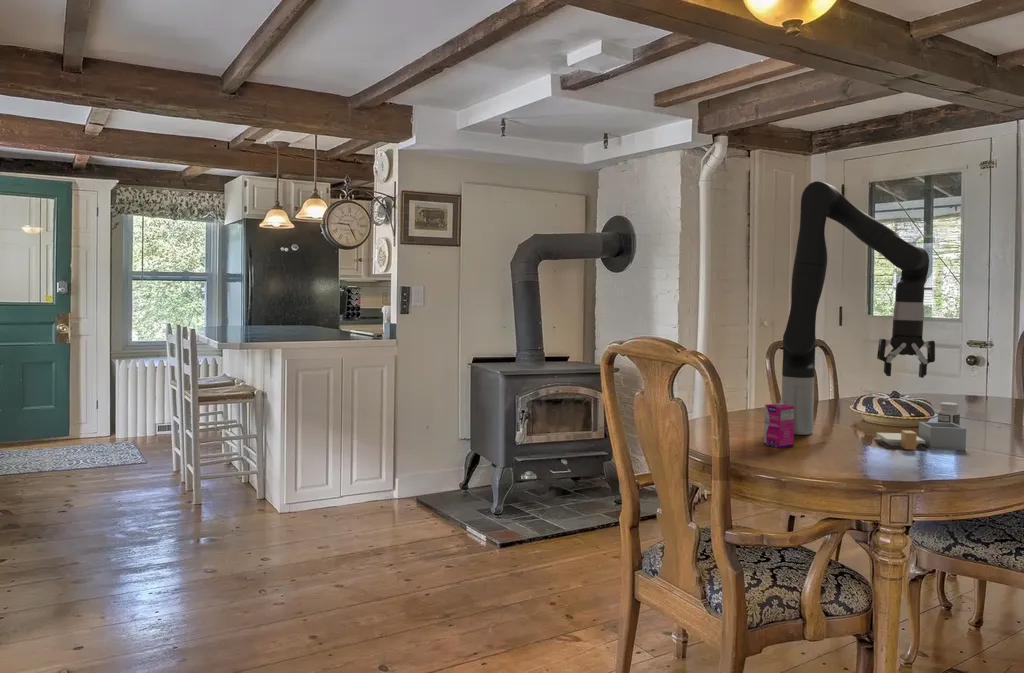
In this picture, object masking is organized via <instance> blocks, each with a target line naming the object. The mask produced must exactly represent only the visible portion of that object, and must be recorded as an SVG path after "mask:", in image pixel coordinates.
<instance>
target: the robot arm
mask: <svg viewBox="0 0 1024 673" xmlns="http://www.w3.org/2000/svg"><path fill="white" fill-rule="evenodd" d="M800 197H801V198H800V215H799V216H800V217H799V231H798V236H797V243H796V251H795V254H794V255H795V256H794V261H793V262H794V263H793V266H792V267H793V268H792V275H791V287H790V288H791V289H790V293H791V296H790V297H791V300H790V301H791V302H790V311H789V314H788V319H787V323H786V327H785V331H784V333H783V335H782V336H783V337H782V344H783V345H782V346H783V347H782V368H781V370H782V371H781V376H782V377H781V399H779V403H781V404H786V405H791V406H794V435H800V436H801V435H812V434H813V432H814V404H815V402H814V400H815V398H814V397H815V373H816V369H815V368H816V361H815V360H816V341H817V340H816V338H817V337H816V322H817V320H816V319H817V311H818V307H819V304H820V299H821V297H822V294H823V288H824V284H825V279H826V274H827V273H826V272H827V266H828V251H827V243H826V242H827V241H826V235H825V230H826V224H827V223H826V222H827V218H828V219H830V220H833V221H835V222H837V223H838V224H840V225H841V226H843V227H845V228H846V229H847V230H848V231H850V232H851V233H852V234H853V235H854V236H855V237H856V238H857V239H859V240H860V241H861V242H863V244H865V245H866V246H868V247H869V248H871V249H872V250H874V251H875V252H877V253H879V254H880V255H882V256H883V258H885V259H886V260H888V262H889V263H891V264H892V265H893V266H895V267H896V268H898V269H899V270H901V273H900V280H899V282H897V283H896V287H895V297H894V298H895V300H894V307H893V314H892V316H893V317H892V327H891V328H892V330H891V331H892V332H891V338H890V339H885V338H879V340H878V347H877V348H878V349H877V356H876V357H877V360H880V361H882V362H883V365H884V366H883V373H884V374H885V376H886V377H891V375H892V364H893V363H892V361H893V360H894V358H896V357H897V356H898V355H900V356H906V355H908V356H915V357H916V358H917V360H919V362H920V363H919V366H918V367H919V368H918V377H919V378H920V379H922V378H923V379H924V377H925V376H927V369H928V364H930V363H935V361H936V342H935V340H931V339H927V340H924V339H923V335H924V320H925V307H924V300H925V285H926V281H927V278H928V272H929V267H930V256H929V254H928V252H927V250H926V249H924V248H923V247H920V246H916V245H915V246H914V245H912V244H911V243H909V242H907V241H906V240H905V239H903V238H901V237H900V235H899V234H898V233H897V232H896V231H895V230H893V229H891V228H890V227H888V226H887V225H885V224H884V223H882V222H881V221H879V220H878V219H876V218H874V217H872V216H870V215H869V214H867V213H866V212H864V211H862V210H861V209H860V208H858V207H857V206H855V205H854V204H853V203H852V202H850V201H849V200H848V199H847V198H846V197H845V196H844V195H843V194H842V193H841V192H840V191H839V190H838V188H836V187H835V186H834V185H832V184H830V183H827V182H824V181H813V182H811V183H809V184H807V186H806V187H805V188H804V190H803V192H802V194H801V196H800ZM889 344H890V346H891V347H892V349H890V350H889V352H888V354H887V355H886V356H885V354H886V347H888V346H889ZM923 347H924V348H926V349H927V350H926V354H927V355H926V356H927V357H926V356H925V355H924V353H923V352H922V351H921V350H920V349H922V348H923Z"/></svg>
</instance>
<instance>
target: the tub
mask: <svg viewBox="0 0 1024 673" xmlns="http://www.w3.org/2000/svg"><path fill="white" fill-rule="evenodd" d="M918 437H919V438H921V439H923V440H925V444H924V443H919V445H921V446H923V447H925V448H926V449H929V450H947V451H949V450H950V451H966V446H967V445H966V444H967V443H966V442H967V428H966V427H964V426H961V425H960V426H959V425H957V424H954V423H939V422H938V421H937V422H935V421H934V422H933V421H918Z"/></svg>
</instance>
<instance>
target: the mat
mask: <svg viewBox="0 0 1024 673" xmlns="http://www.w3.org/2000/svg"><path fill="white" fill-rule="evenodd" d="M873 440H874V441H875V442H876V443H878V444H879V445H881V446H883V447H884V448H885V449H893V450H894V449H896V450H897V449H899V450H906V449H905V448H903V447H901V446H891V445H889V444H887V443H886V442H884V441H883V439H881V438H874V439H873ZM916 450H920V451H925V450H927V447H925V446H924V445H922V444H920V443H918V447H916Z"/></svg>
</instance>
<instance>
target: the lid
mask: <svg viewBox="0 0 1024 673" xmlns="http://www.w3.org/2000/svg"><path fill="white" fill-rule="evenodd" d="M876 436H877V437H878V438H879V439H883V441H884V442H886V443H887V444H889V445H891V446H901V447H903V448H905V449H904V450H915V451H916V450H917V449H916V447H918V444H920V443H924V444H925V440H923V439H921V438H919V435H917V432H915V431H913V430H906V429H905V430H901V432H899V433H897V432H876Z"/></svg>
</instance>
